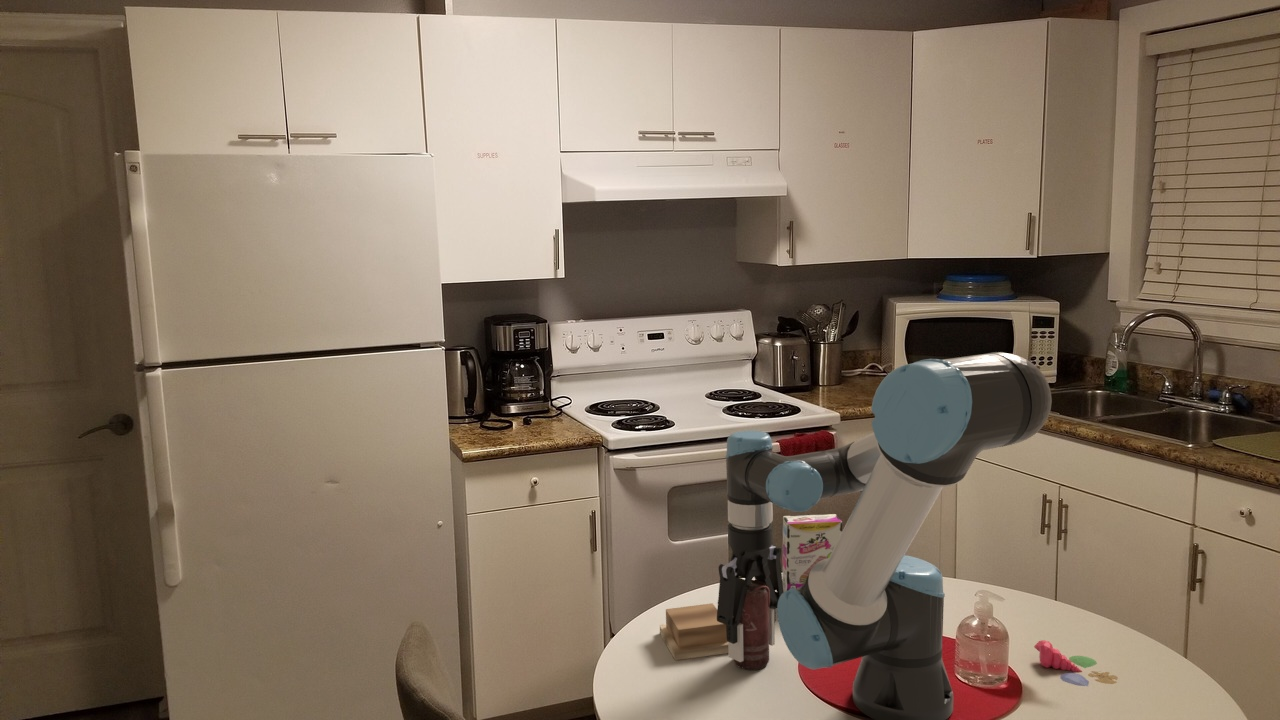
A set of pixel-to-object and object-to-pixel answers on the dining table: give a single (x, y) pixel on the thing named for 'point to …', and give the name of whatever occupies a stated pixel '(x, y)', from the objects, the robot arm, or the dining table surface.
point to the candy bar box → (807, 545)
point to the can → (755, 627)
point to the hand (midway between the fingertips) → (751, 650)
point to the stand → (694, 632)
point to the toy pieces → (1070, 665)
